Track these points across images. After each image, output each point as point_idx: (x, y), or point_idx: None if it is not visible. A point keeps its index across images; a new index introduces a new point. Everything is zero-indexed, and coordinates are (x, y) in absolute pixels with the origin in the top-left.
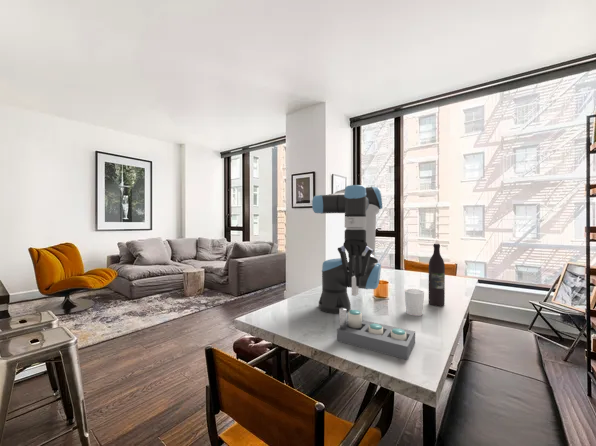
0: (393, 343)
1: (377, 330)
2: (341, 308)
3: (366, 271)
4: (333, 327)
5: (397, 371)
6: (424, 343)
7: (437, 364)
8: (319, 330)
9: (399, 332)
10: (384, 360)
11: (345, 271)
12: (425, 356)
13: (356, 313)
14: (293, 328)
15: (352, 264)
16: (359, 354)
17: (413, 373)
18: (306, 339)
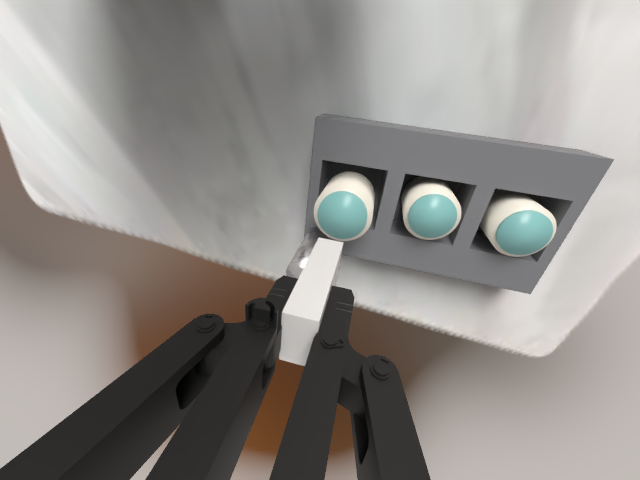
0: (486, 284)
1: (437, 237)
2: (293, 272)
3: (403, 408)
4: (266, 139)
5: (476, 320)
6: (626, 137)
7: (604, 269)
8: (239, 183)
9: (525, 246)
10: (448, 287)
11: (204, 376)
12: (583, 237)
13: (352, 235)
14: (173, 199)
15: (227, 473)
16: (384, 278)
17: (514, 319)
18: (240, 248)
